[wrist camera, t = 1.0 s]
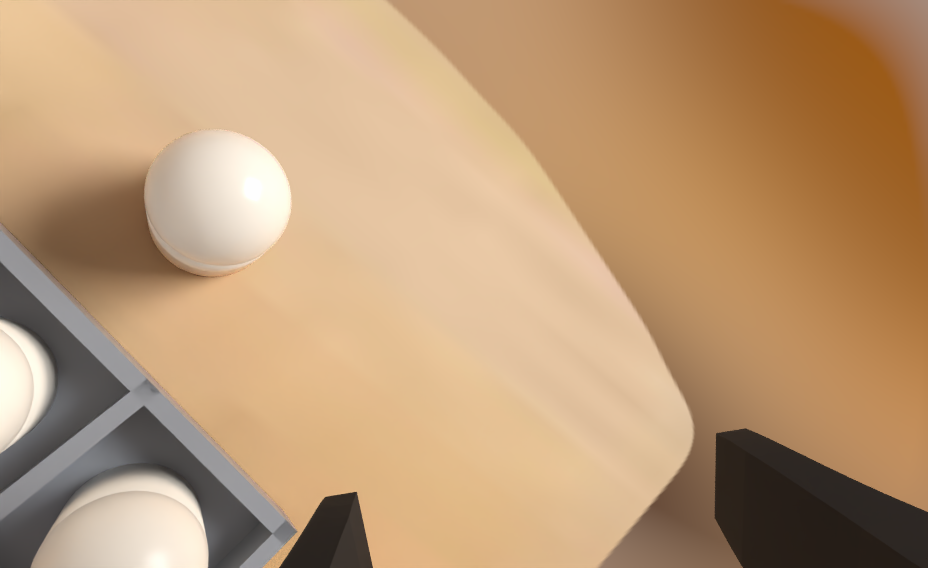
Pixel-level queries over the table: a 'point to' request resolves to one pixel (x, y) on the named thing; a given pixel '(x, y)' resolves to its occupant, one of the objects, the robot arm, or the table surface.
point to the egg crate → (107, 449)
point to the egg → (215, 202)
